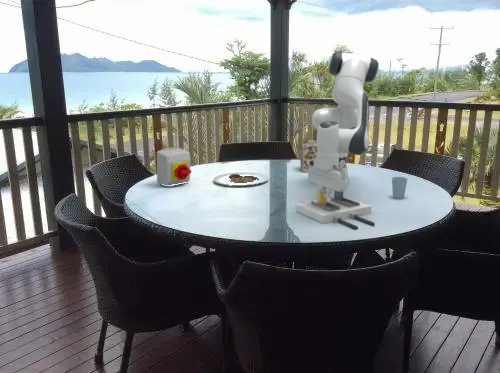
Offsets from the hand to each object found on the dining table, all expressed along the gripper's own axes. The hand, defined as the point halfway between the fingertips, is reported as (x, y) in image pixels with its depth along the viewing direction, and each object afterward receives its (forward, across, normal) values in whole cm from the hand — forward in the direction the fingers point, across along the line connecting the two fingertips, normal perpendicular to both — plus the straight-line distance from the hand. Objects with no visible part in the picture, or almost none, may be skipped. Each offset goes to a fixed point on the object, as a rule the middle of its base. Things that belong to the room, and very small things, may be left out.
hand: (326, 197), depth 168 cm
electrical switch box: (+8, +81, +36) cm, 89 cm away
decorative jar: (+8, +72, -45) cm, 85 cm away
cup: (+7, +2, -43) cm, 44 cm away
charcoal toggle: (+4, +4, -10) cm, 12 cm away
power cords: (+7, -15, -2) cm, 16 cm away
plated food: (+8, +70, +3) cm, 71 cm away
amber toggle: (+4, +3, 0) cm, 5 cm away
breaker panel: (+7, 0, -4) cm, 8 cm away
